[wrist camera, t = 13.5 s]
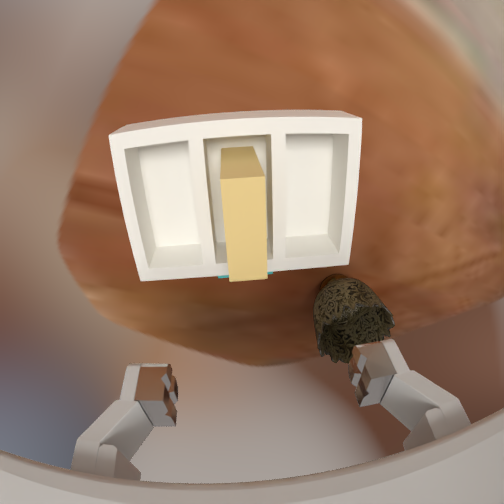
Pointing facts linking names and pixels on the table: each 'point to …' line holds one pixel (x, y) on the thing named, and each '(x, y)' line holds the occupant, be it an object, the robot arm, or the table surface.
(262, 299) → the table surface
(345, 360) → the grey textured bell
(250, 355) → the table surface
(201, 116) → the rack
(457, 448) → the robot arm
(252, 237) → the panel
